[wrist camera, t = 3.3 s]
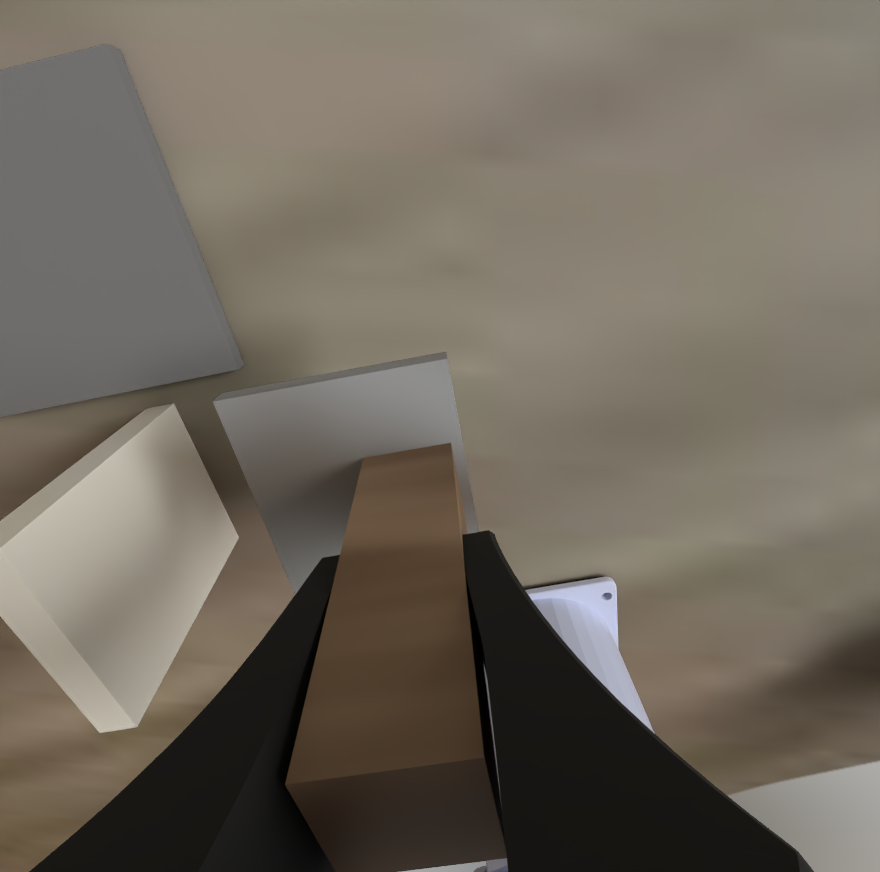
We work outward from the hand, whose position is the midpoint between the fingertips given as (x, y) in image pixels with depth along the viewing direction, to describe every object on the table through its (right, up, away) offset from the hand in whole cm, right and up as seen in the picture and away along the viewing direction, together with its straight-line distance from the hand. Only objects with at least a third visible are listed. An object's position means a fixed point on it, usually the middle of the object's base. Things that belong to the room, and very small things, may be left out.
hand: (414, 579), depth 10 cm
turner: (-2, +2, +4) cm, 4 cm away
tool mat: (-13, +9, +6) cm, 17 cm away
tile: (-10, +1, +11) cm, 15 cm away
